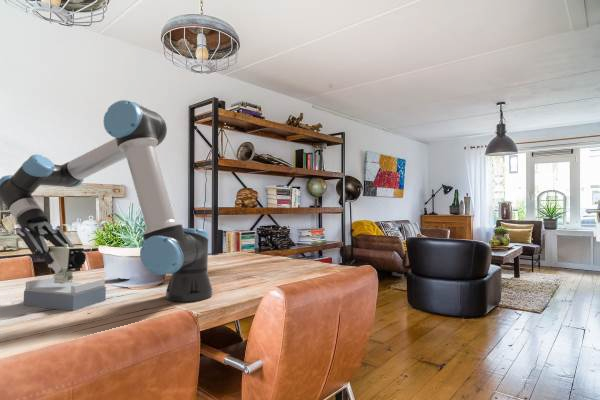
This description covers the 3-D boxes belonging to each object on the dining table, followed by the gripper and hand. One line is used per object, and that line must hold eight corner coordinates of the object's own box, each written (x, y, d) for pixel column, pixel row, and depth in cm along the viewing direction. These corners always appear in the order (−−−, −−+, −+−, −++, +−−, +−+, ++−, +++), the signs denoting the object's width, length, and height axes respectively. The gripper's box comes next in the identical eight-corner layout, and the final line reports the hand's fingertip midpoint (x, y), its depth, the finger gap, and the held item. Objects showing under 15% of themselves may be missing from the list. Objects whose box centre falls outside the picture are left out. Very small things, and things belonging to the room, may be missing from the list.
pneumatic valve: (71, 285, 109) (74, 245, 110) (41, 282, 112) (45, 243, 113) (86, 283, 114) (89, 244, 115) (57, 279, 117) (61, 242, 118)
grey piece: (105, 300, 117) (105, 278, 117) (73, 310, 105) (73, 286, 105) (52, 295, 122) (52, 274, 123) (16, 304, 111) (16, 281, 111)
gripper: (48, 222, 127) (85, 271, 123) (-7, 224, 110) (33, 282, 105) (60, 207, 126) (98, 257, 121) (6, 207, 109) (47, 265, 104)
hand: (67, 268), depth 113 cm, fingers closed on pneumatic valve, 5 cm apart
